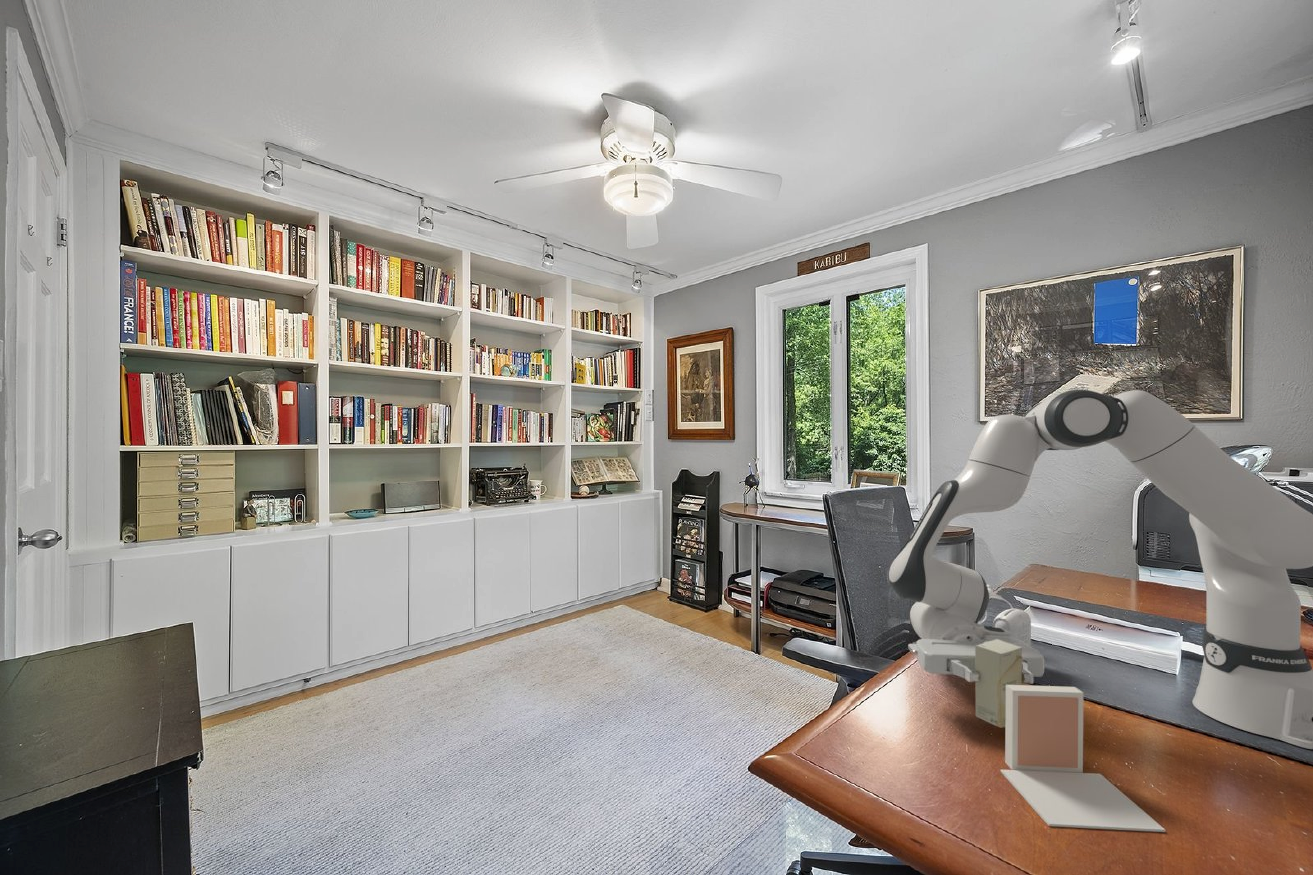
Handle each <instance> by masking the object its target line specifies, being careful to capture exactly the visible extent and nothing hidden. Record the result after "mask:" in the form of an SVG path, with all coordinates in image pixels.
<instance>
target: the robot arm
mask: <svg viewBox="0 0 1313 875" xmlns="http://www.w3.org/2000/svg"><path fill="white" fill-rule="evenodd" d="M1103 442H1105V443H1107V444H1109V445H1111V446H1112V447H1113V448H1116V449H1117V450H1118V451H1119V452H1120V453H1121V454H1122V456H1124V458H1125V459H1127V461H1129V463H1131V464H1132V465H1133V466H1134V467H1135V468H1136V469H1137V470H1138V471H1139V472H1141V474H1142V475H1143V476H1145V478H1147V479H1148V480H1149V481H1150V482H1151V483H1152V484H1153V485H1154V486H1155V487H1156V488H1157V489H1158V490H1159V491H1161V493H1162V494H1164V495H1165V496H1166V497H1168V498H1169V499H1171V500H1172V501H1174V502H1175V503H1176V504H1177V505H1179V506H1180V507H1182V508H1183V509H1184V510H1185V511H1186V512H1188V514H1189V516H1188V519H1189V521H1188V522H1189V524H1190V526H1191V528H1192V530H1193V532H1194V535H1195V538H1196V543H1197V548H1198V554H1199V558H1200V563H1201V567H1202V572H1203V574H1204V582H1205V588H1206V590H1205V591H1206V599H1205V600H1206V601H1205V602H1206V603H1205V604H1206V607H1205V609H1206V610H1205V611H1206V614H1205V616H1206V618H1205V620H1206V621H1205V622H1206V623H1205V625H1206V627H1204V628H1202V629H1203V630H1202V637H1201V638H1202V642H1201V643H1202V644H1201V645H1202V649H1203V650H1202V651H1203V655H1204V656H1203V660H1202V661H1203V662H1202V667H1201V671H1200V677H1199V682H1198V685H1197V687H1196V691H1195V694H1194V696H1193V699H1192V701H1191V702H1192V705H1193V706H1194V707H1195V708H1196V709H1197V710H1198V711H1200V712H1201V713H1202V714H1204V715H1206V716H1208V717H1210V718H1212V719H1214V720H1216V721H1218V722H1221V723H1223V724H1226V725H1227V726H1231V727H1234V728H1236V729H1240V730H1243V731H1245V732H1249V733H1251V734H1256V735H1260V736H1263V737H1268V738H1273V739H1275V740H1280V741H1283V742H1285V743H1288V744H1290V745H1294V746H1297V747H1300V748H1304V749H1307V750H1308V749H1309V750H1313V666H1312V664H1311V662H1310V660H1312V661H1313V647H1309V648H1305V647H1303V646H1302V645H1301V626H1302V625H1301V619H1302V618H1301V617H1302V615H1301V613H1302V612H1301V609H1302V605H1301V600H1300V597H1299V595H1298V594H1297V592H1296V591H1295V589H1294V587H1293V585H1292V582H1291V581H1290V577H1289V574H1288V572H1287V571H1288V570H1302V569H1307V568H1312V567H1313V513H1311V512H1310V511H1308V510H1306V509H1305V508H1304V507H1301V506H1300V505H1299V504H1297V503H1296V502H1295V501H1294V500H1292V499H1291V498H1289V497H1288V496H1286V494H1284V493H1282V492H1281V491H1280V490H1278V489H1277V488H1275V486H1272V485H1271V484H1270V483H1268V482H1267V481H1266V480H1264V479H1263V478H1261V477H1260V476H1258V475H1257V474H1255V473H1254V472H1252V471H1251V470H1249V469H1248V468H1246V467H1245V466H1244V465H1242V464H1240V463H1239V462H1238V461H1237V460H1235V459H1234V458H1232V456H1230V455H1228V453H1226V452H1225V451H1224V450H1223V449H1222V448H1221V447H1220V446H1218V445H1217V444H1216V443H1215V442H1214V441H1213V440H1212V439H1211V438H1209V436H1207V435H1206V434H1205V433H1203V432H1202V430H1200V428H1198V427H1197V426H1196V425H1195V424H1194V423H1192V421H1190V420H1189V419H1188V418H1187V417H1186V416H1185V415H1183V414H1182V413H1180V412H1179V411H1178V410H1176V409H1175V408H1174V407H1173V406H1171V405H1170V404H1168V403H1166V402H1165V401H1163V400H1162V399H1161V398H1158V397H1156V396H1155V395H1154V394H1152V393H1149V392H1148V391H1145V390H1140V389H1139V390H1138V389H1135V390H1128V391H1127V390H1126V391H1123V392H1121V393H1118V394H1116V395H1114V396H1109V395H1107V394H1104V393H1100V392H1097V391H1093V390H1088V389H1087V390H1086V389H1071V390H1068V391H1064V392H1059V393H1056V394H1053V395H1051V396H1048V397H1047V398H1045V399H1044V400H1042V401H1039V403H1037V404H1035V405H1034V406H1032V407H1031V408H1030V409H1029V410H1027V411H1026V413H1024V414H1022V415H1015V414H1001V415H996V416H993V417H991V418H990V419H989V420H988V421H987V422H986V423H985V425H984V427H983V428H982V430H981V432H980V433H979V435H978V437H977V438H976V441H975V443H974V446H973V447H972V449H971V452H970V454H969V458H968V460H967V462H966V464H965V466H964V468H963V470H961V472H960V473H959V475H957V476H956V477H955V478H954V479H953V480H947V481H945V482H943V483H942V484H941V485H940V486H939V487H938V488H937V490H936V492H935V493H934V495H933V496H932V497H931V500H929V502H928V504H927V506H926V507H925V509H924V511H923V512H922V514H921V517H920V518H919V520H918V521H917V524H916V525H915V526H914V529H913V530H912V532H911V534H910V536H909V537H908V538H907V540H906V542H905V543H904V545H903V547H902V548H901V549H900V550H899V552H898V553H897V555H895V557H894V558H893V561H892V562H891V564H890V566H889V568H888V575H887V576H888V582H889V584H890V586H891V588H892V590H893V591H894V592H895V594H897V596H898V597H899V598H900V599H902V600H907V601H910V602H911V601H912V602H915V603H914V604H913V605H912V606H911V609H910V612H909V618H910V622H911V626H912V628H913V630H914V631H915V633H916V635H918V637H919V639H918V640H917V641H913V642H912V643H908V645H907V647H908V650H909V651H910V652H911V653H913V654H914V655H916V660H917V662H918V664H919V666H920V667H921V668H922V670H923V671H924V672H927V673H929V674H935V675H940V674H941V675H954V676H958V677H960V678H963V679H965V681H967V682H968V683H975V682H979V679H978V677H979V673H978V672H977V671H976V670H975V645H978V644H981V643H984V642H987V641H991V640H994V639H999V640H1002V641H1005V642H1008V643H1011V644H1014V645H1017V646H1020V647H1022V684H1023V685H1027V684H1028V685H1034V678H1035V677H1036V678H1040V677H1041V678H1042V677H1043V676H1044V673H1045V657H1044V655H1043V654H1042V653H1041V652H1040V651H1039V650H1037V649H1035V648H1034V647H1033V646H1030V645H1028V644H1027V643H1025V642H1023V641H1021V640H1019V639H1017V638H1014V637H1012V635H1011V632H1010V631H1008V630H1006V629H1001V628H995V627H993V626H988V625H983V624H981V625H980V624H977V623H978V622H979V621H980V620H981V621H982V618H983V617H984V616H985V615H986V611H987V608H988V606H989V602H990V598H989V592H988V588H987V585H988V584H987V582H986V580H985V579H984V577H983V576H982V574H981V572H979V571H977V570H975V569H971V568H968V567H966V566H963V565H960V564H957V563H951V562H948V561H946V560H943V559H940V558H937V557H934V556H932V553H933V551H934V550H935V548H936V546H937V544H938V542H939V540H941V537H942V535H943V534H944V532H945V531H946V528H947V526H948V525H949V524H950V522H952V521H953V520H954V519H955V518H957V517H959V516H962V515H966V514H967V515H968V514H974V513H976V514H978V513H980V514H981V513H993V512H999V511H1003V510H1007V509H1009V508H1011V507H1012V506H1014V505H1016V504H1018V502H1019V501H1020V500H1021V499H1022V497H1023V496H1024V494H1025V492H1026V491H1027V488H1028V484H1029V481H1030V479H1031V475H1032V473H1033V471H1034V466H1035V463H1036V462H1037V461H1038V460H1039V457H1040V456H1041V455H1042V454H1043V453H1044V452H1045V451H1059V450H1060V451H1071V450H1078V449H1081V448H1087V447H1092V446H1095V445H1098V444H1101V443H1103ZM981 621H980V622H981Z"/></svg>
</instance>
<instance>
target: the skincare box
mask: <svg viewBox="0 0 1313 875" xmlns="http://www.w3.org/2000/svg"><path fill="white" fill-rule="evenodd" d="M975 670H976V671H977V672H978V673H979V677H978V679H979V682H974V684H975V691H974V692H975V717H977V718H978V719H981V720H983V721H985V722H986V723H989V724H991V725H993V726H995V727H998V728H1000V729H1001V728H1005V725H1006V685H1023V683H1022V647H1020V646H1017V645H1014V644H1011V643H1008V642H1005V641H1002V640H999V639H994V640H991V641H987V642H984V643H981V644H978V645H975Z"/></svg>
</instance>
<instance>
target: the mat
mask: <svg viewBox="0 0 1313 875" xmlns="http://www.w3.org/2000/svg"><path fill="white" fill-rule="evenodd" d="M999 771H1000V773H1001V774H1002V775H1003V776H1004V777H1005V779H1006V780H1007V781H1008V782H1009V783H1010V785H1012V787H1013V788H1014V789H1015V790H1016V791H1017V792H1018V793H1019V794H1020V795H1021V796H1022V797H1023V799H1024V800H1025V802H1027V803H1028V805H1030V807H1031V808H1032V809H1033V810H1034V811H1035V812H1036V814H1038V816H1039V817H1040V818H1041V819H1042V820H1043V821H1044V822H1045V824H1046V825H1047V826H1048V827H1060V828H1063V827H1064V828H1079V829H1096V830H1097V829H1098V830H1099V829H1101V830H1117V831H1137V832H1138V831H1139V832H1154V833H1157V832H1158V833H1159V832H1160V833H1166V829H1165V828H1164V827H1162V825H1161V824H1159V823H1158V822H1157V821H1155V819H1154V818H1152V817H1151V816H1150V815H1149V814H1148V813H1146V812H1145V811H1144V810H1143V808H1141V807H1140V806H1138V804H1136V803H1135V802H1133V800H1131V799H1130V798H1129V797H1128V796H1126V795H1125V794H1124V793H1123V792H1122V791H1121V790H1120V789H1118V788H1117V787H1116V786H1115V785H1114V784H1113V783H1112V782H1110V781H1109V780H1108V779H1106V778H1105V776H1104V775H1102V774H1101V773H1091V772H1088V773H1087V772H1083V773H1072V772H1050V771H1027V770H1012V769H1000V770H999Z"/></svg>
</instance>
